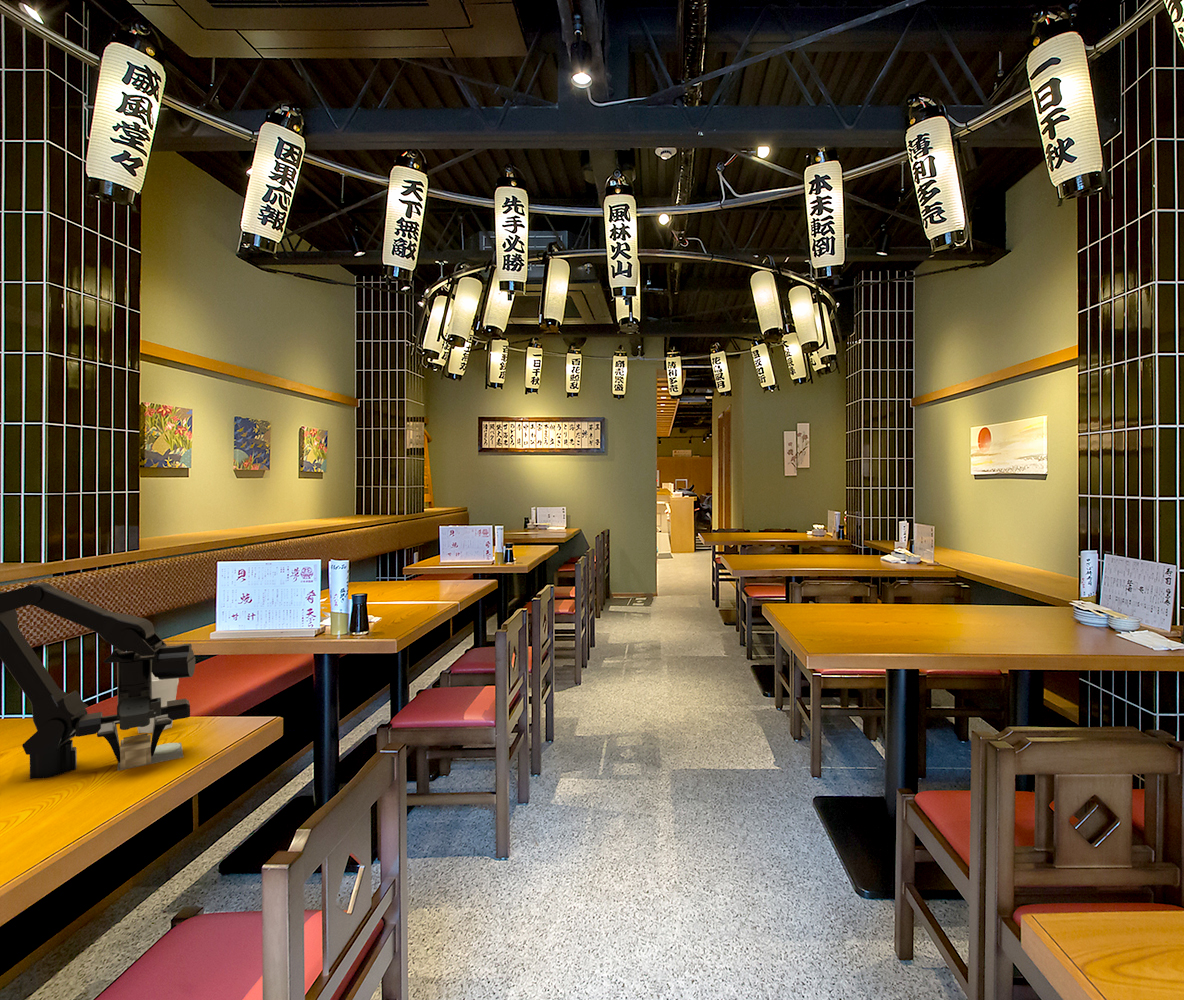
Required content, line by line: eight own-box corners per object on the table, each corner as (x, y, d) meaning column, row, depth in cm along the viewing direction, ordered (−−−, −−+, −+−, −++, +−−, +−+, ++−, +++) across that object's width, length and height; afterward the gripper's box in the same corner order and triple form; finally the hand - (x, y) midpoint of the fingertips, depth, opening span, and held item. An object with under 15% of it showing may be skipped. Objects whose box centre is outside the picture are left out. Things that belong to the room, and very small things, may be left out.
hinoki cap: (120, 769, 127) (120, 742, 127) (121, 760, 131) (120, 735, 131) (151, 762, 130) (150, 737, 130) (150, 755, 134) (150, 730, 134)
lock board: (117, 775, 127) (117, 757, 127) (118, 759, 135) (118, 742, 135) (183, 761, 133) (183, 744, 133) (181, 747, 141) (180, 731, 141)
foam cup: (120, 737, 148) (119, 680, 148) (158, 723, 157) (157, 670, 157) (152, 741, 145) (151, 683, 145) (188, 727, 154) (187, 672, 154)
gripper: (72, 700, 119) (73, 785, 119) (191, 682, 130) (192, 760, 130) (77, 686, 128) (78, 765, 128) (188, 671, 139) (189, 743, 139)
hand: (135, 758), depth 131 cm, fingers closed on hinoki cap, 5 cm apart
